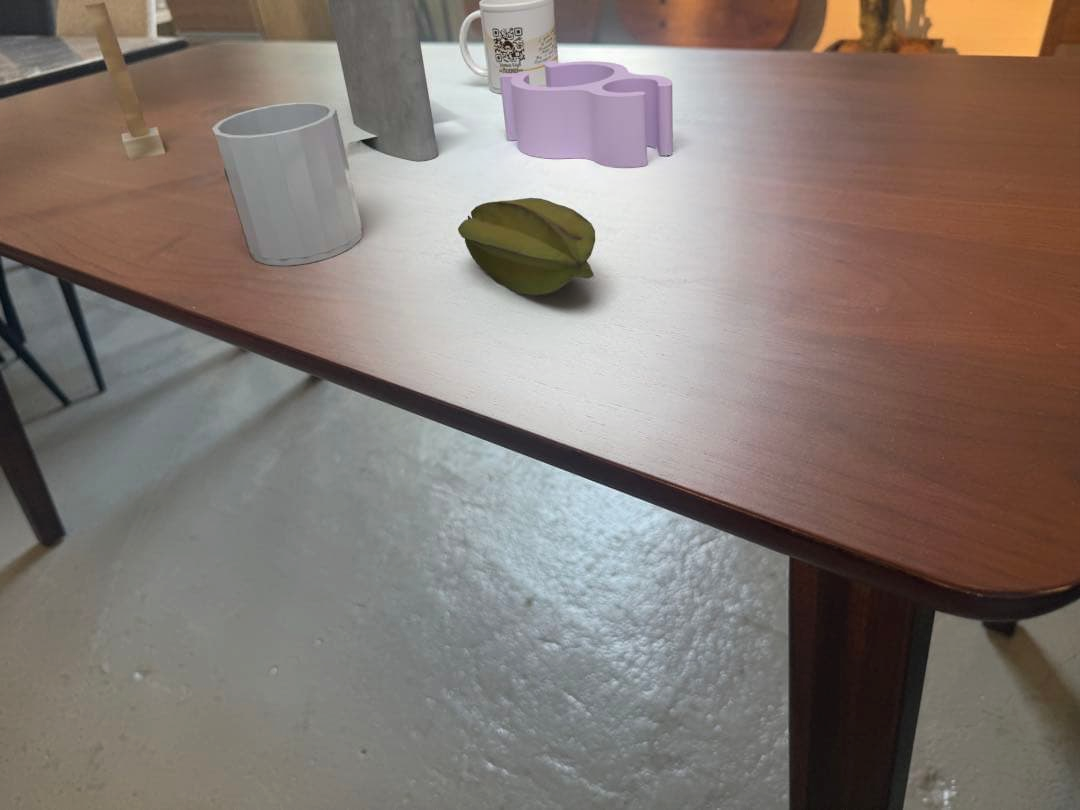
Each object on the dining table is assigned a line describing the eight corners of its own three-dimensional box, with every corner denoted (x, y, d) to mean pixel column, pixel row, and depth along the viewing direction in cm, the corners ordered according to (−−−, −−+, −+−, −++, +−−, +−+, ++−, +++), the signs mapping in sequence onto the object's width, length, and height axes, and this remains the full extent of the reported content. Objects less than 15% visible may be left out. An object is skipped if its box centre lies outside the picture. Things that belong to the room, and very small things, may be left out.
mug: (513, 99, 113) (504, 8, 107) (462, 87, 121) (450, 2, 115) (574, 81, 118) (568, -7, 112) (521, 71, 126) (512, -12, 120)
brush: (135, 175, 100) (74, 7, 90) (133, 167, 103) (74, 3, 93) (170, 168, 101) (114, 1, 91) (167, 160, 104) (113, -2, 94)
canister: (260, 276, 72) (221, 145, 66) (242, 238, 80) (205, 118, 74) (375, 246, 75) (348, 118, 69) (347, 212, 83) (320, 95, 77)
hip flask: (443, 155, 95) (411, -47, 84) (412, 165, 93) (375, -41, 82) (375, 130, 106) (339, -51, 95) (345, 139, 104) (305, -45, 93)
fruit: (610, 250, 70) (606, 170, 66) (594, 321, 60) (588, 232, 56) (474, 253, 72) (463, 176, 68) (436, 322, 62) (421, 236, 58)
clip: (698, 143, 90) (699, 75, 86) (614, 177, 84) (611, 105, 80) (569, 116, 103) (565, 56, 100) (488, 144, 97) (480, 80, 93)
